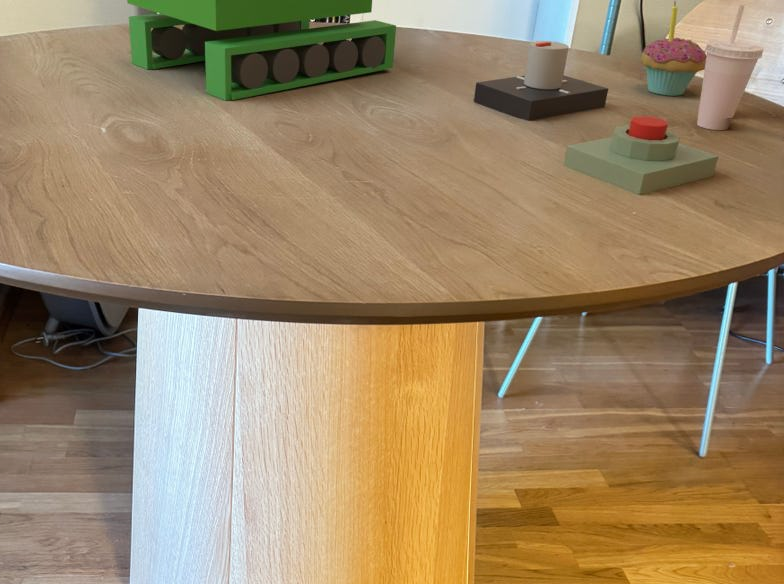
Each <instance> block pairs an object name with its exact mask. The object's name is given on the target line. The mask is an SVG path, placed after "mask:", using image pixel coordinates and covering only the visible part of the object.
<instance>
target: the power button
mask: <svg viewBox="0 0 784 584" xmlns="http://www.w3.org/2000/svg"><path fill="white" fill-rule="evenodd" d="M629 125H630V128H629V132H628V135H630V136H633V137H635V138H639V139H645V140H664V137H665V133H666V130H668V125H669V123H668V122H667V121H666V120H664V119H662V118H658V117H653V116H647V115H646V116H645V115H642V116H641V115H639V116H634V117H632V118H631V120H630V124H629Z"/></svg>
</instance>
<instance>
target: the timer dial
mask: <svg viewBox="0 0 784 584" xmlns="http://www.w3.org/2000/svg"><path fill="white" fill-rule="evenodd" d="M568 53H569V44H566V43H563V42H559V41H553V40H551V41H550V40H534V41H530V43H529V47H528V54H527V60H526V66H525V73H524V76H525V78H524V84H525V85H526V86H529V87H532V88H537V89H547V90H551V89H558V88H561V86H562V81H563V75H564V76H565V70H566V63H567V58H568Z"/></svg>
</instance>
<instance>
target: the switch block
mask: <svg viewBox="0 0 784 584" xmlns="http://www.w3.org/2000/svg"><path fill="white" fill-rule="evenodd" d="M629 128H630V124H625V125H621V126H616V127H615V129H614V130H613V131H612V136H609V137H604V138H599V139H595V140H594V139H593V140H590V141H584V142H580V143H575V144H569V145H566V149H565V156H564V160H563V166H564V167H566V168H569V169H571V170H574V171H576V172H579V173H582V174H585V175H587V176H590V177H592V178H594V179H597V180H600V181H603V182H604V183H606V184H607V183H608V184H610V185H612V186H615V187H617V188H620V189H623V190H625V191H628V192H630V193H633V194H635V195H638V196H642V195H645V194H649V193H653V192H657V191H661V190H664V189H668V188H672V187H676V186H679V185H684V184H688V183H691V182H696V181H700V180H703V179H708V178H711V177H713V176H714V175H715V174H714V173H715V170H716V167H717V163H718V160H719V155H716V154H713V153H711V152H707V151H703V150H701V149H698V148H695V147H692V146H688V145H685V144H682V143H680V139H681V137H680V136H679V135H678V134H676V133H675V132H673V131H671V130H668V129H666V133H665V137H664V140H645V139H639V138H635V137H633V136H630V135H628V132H629Z"/></svg>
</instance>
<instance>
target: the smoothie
mask: <svg viewBox="0 0 784 584" xmlns="http://www.w3.org/2000/svg"><path fill="white" fill-rule="evenodd" d="M744 9H745V4H739V6H738V9H737V13H736V15H735V19H734V24H733V27H732V31H731V34H730V37H729V39H711V40H709V41H707V42H706V45H705V49H704V51H705V53H706V56H707V57H706V63H705V69H704V70H703V78H702V84H701V93H700V98H699V99H700V100H699V106H698V114H697V119H696V125H697V126H698V127H700V128H703V129H707V130H712V131H713V130H714V131H725V130H728V129H729V127H730V125H731V123H732V121H733V120H732V119H731V118H734V116H735V113H736V112H737V109H738V106H739V104H740V103H741V99H742V97H743V95H744V93H745V91H746V88H747V86H748V83H749V81H750V79H751V76H752V74H753V72H754V70H755V68H756V66H757V63H758V60H759V59H761V58H762V57H763V53H764V50H765V49H764V47H763V46H761V45H759V44H757V43H753V42H749V41H742V40H737V39H736V37H737V34H738V30H739V27H740V23H741V21H742V16H743V13H744Z"/></svg>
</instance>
